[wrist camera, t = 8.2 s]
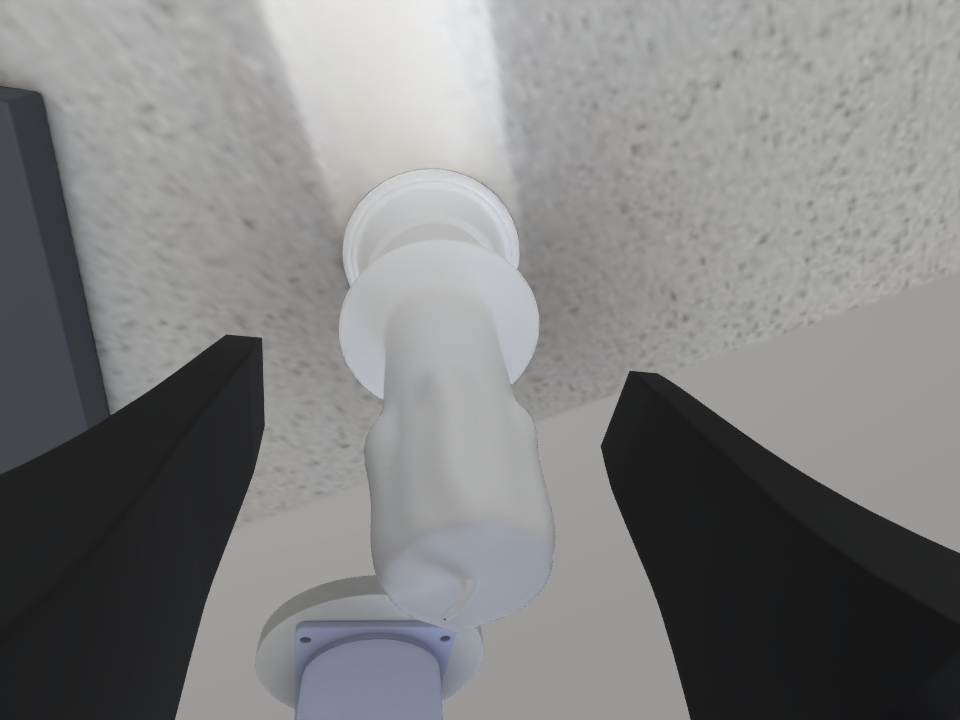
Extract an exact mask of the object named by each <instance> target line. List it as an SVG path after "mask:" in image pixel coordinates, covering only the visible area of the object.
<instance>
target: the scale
mask: <svg viewBox="0 0 960 720" xmlns="http://www.w3.org/2000/svg"><path fill="white" fill-rule="evenodd" d="M108 417H109V412H108V408H107V403H106V398H105V394H104V389H103V384H102V379H101V375H100V370H99V365H98V361H97V356H96V351H95V347H94V342H93V337H92V332H91V328H90V323H89V318H88V314H87V309H86V304H85V300H84V295H83V290H82V285H81V281H80V276H79V271H78V267H77V262H76V257H75V253H74V248H73V243H72V239H71V234H70V229H69V224H68V220H67V215H66V210H65V206H64V201H63V196H62V192H61V187H60V182H59V177H58V173H57V168H56V163H55V159H54V154H53V149H52V145H51V140H50V135H49V130H48V126H47V121H46V116H45V112H44V107H43V102H42V98H41V95H40V94H39V93H37V92H33V91H27V90H20V89H14V88H8V87H1V86H0V474H2V473H5V472H7V471H9V470H11V469H13V468H16V467H18V466H20V465H22V464H24V463H26V462H28V461H30V460H32V459H34V458H36V457H38V456H40V455H42V454H44V453H46V452H48V451H50V450H51V449H53V448H55V447H57V446H59V445H61V444H63V443H65V442H67V441H69V440H70V439H72V438H74V437H76V436H78V435H79V434H81V433H83V432H85V431H86V430H88V429H90V428H92V427H93V426H95V425H97V424H98V423H100V422H102V421H103V420H105V419H106V418H108Z"/></svg>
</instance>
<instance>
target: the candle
mask: <svg viewBox="0 0 960 720" xmlns="http://www.w3.org/2000/svg"><path fill="white" fill-rule="evenodd" d="M519 253H520V251H519V240H518V235H517V231H516V228H515V225H514V222H513V220H512V218H511V216H510V214H509V212H508V210H507V209H506V207H505V206H504V205H503V203H502V202H501V201H500V200H499V199H498V197H497V196H496V195H495V194H494V193H492V192H491V191H490V190H489V189H488V188H486V187H485V186H484V185H482V184H481V183H479V182H477V181H476V180H474V179H472V178H470V177H467V176H465V175H462V174H459V173H456V172H452V171H447V170H439V169H424V170H416V171H410V172H406V173H403V174H400V175H397V176H395V177H393V178H391V179H389V180H387V181H385V182H383V183H382V184H380V185H379V186H377V187H376V188H375V189H373V190H372V191H371V192H370V193H369V194H368V195H367V196H366V197H365V198H364V199H363V200H362V201H361V202H360V204H359V205H358V206H357V208H356V209H355V211H354V213H353V214H352V216H351V218H350V220H349V223H348V225H347V228H346V232H345V236H344V241H343V264H344V269H345V273H346V277H347V280H348V282H349V285H350V289H349V291H348V293H347V295H346V297H345V299H344V302H343V305H342V308H341V312H340V318H339V340H340V345H341V349H342V353H343V355H344V358H345V360H346V362H347V364H348V366H349V368H350V370H351V371H352V373H353V374H354V376H355V377H356V378H357V379H358V380H359V382H360V383H361V384H362V385H363V386H364V387H365V388H366V389H368V390H369V391H370V392H371V393H373V394H374V395H375V396H377V397H378V398H380V399H382V400H383V412H382V414H381V415H380V417H379V418H378V419H377V420H376V422H375V423H374V424H373V426H372V428H371V429H370V431H369V433H368V435H367V438H366V441H365V448H364V455H365V465H366V471H367V476H368V482H369V489H370V496H371V551H372V558H373V564H374V569H375V573H376V576H377V579H378V582H379V584H380V586H381V587H382V589H383V590H384V591H385V592H386V593H387V595H388V596H389V598H390V600H391V601H392V602H393V603H394V604H395V605H396V606H397V607H398V608H399V609H400V610H401V611H403V612H404V613H406V614H407V615H409V616H411V617H413V618H415V619H417V620H420V621H423V622H426V623H430V624H433V625H436V626H439V627H442V628H445V629H448V630H451V631H457V632H462V631H468V630H471V629H473V628H476V627H478V626H480V625H483V624H485V623H488V622H491V621H495V620H498V619H500V618H503V617H506V616H508V615H510V614H512V613H514V612H516V611H518V610H520V609H521V608H522V607H524V606H526V605H527V604H528V603H529V602H531V601H532V600H533V599H534V598H535V597H536V596H537V595H538V594H539V593H540V592H541V590H542V589H543V588H544V586H545V584H546V583H547V581H548V578H549V576H550V573H551V569H552V562H553V552H554V546H555V526H554V519H553V514H552V509H551V505H550V501H549V497H548V493H547V489H546V485H545V481H544V478H543V474H542V470H541V466H540V461H539V456H538V445H537V433H536V427H535V423H534V421H533V419H532V418H531V416H530V415H529V413H528V412H527V411H526V410H525V409H524V408H523V407H522V406H521V405H520V404H519V403H518V402H517V401H516V400H515V396H514V393H513V389H512V384H513V383H514V382H515V381H516V380H517V379H518V378H519V377H520V375H521V374H522V373H523V371H524V370H525V368H526V367H527V365H528V364H529V362H530V360H531V358H532V356H533V353H534V351H535V348H536V344H537V340H538V335H539V314H538V308H537V304H536V301H535V298H534V295H533V293H532V291H531V289H530V287H529V285H528V283H527V282H526V280H525V279H524V277H523V276H522V275H521V274H520V272H519V271H518V265H519Z"/></svg>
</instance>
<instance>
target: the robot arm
mask: <svg viewBox="0 0 960 720" xmlns="http://www.w3.org/2000/svg"><path fill="white" fill-rule="evenodd" d="M264 427H265V420H264V387H263V353H262V338H258V337H247V336H236V335H225V336H224V337H222V338H221V339H219V340H218V341H217V342H215V343H214V344H213V345H211V346H210V347H209V348H207V349H206V350H205V351H203V352H202V353H201V354H199V355H198V356H197V357H195V358H194V359H193V360H191V361H190V362H189V363H187V364H186V365H185V366H183V367H182V368H181V369H179V370H178V371H177V372H175V373H174V374H172V375H171V376H170V377H168V378H167V379H165V380H164V381H163V382H161V383H160V384H158V385H157V386H156V387H154V388H153V389H151V390H150V391H148V392H147V393H145V394H144V395H142V396H141V397H139V398H138V399H136V400H134V401H133V402H131V403H130V404H128V405H127V406H125V407H124V408H122V409H120V410H119V411H117V412H116V413H114V414H113V415H111V416H109V417H108V418H106V419H105V420H103V421H102V422H100V423H98V424H97V425H95V426H93V427H92V428H90V429H88V430H86V431H85V432H83V433H81V434H79V435H78V436H76V437H74V438H72V439H70V440H69V441H67V442H65V443H63V444H61V445H59V446H57V447H55V448H53V449H51V450H50V451H48V452H46V453H44V454H42V455H40V456H38V457H36V458H34V459H32V460H30V461H28V462H26V463H24V464H22V465H20V466H18V467H16V468H13V469H11V470H9V471H7V472H5V473H2V474H0V720H175V717H176V713H177V709H178V705H179V701H180V697H181V693H182V689H183V685H184V681H185V677H186V674H187V669H188V665H189V662H190V658H191V654H192V650H193V647H194V643H195V639H196V635H197V632H198V628H199V624H200V620H201V617H202V613H203V609H204V605H205V602H206V599H207V596H208V593H209V591H210V587H211V584H212V582H213V579H214V576H215V574H216V571H217V568H218V566H219V563H220V561H221V558H222V555H223V553H224V550H225V547H226V545H227V542H228V540H229V537H230V534H231V532H232V529H233V527H234V524H235V521H236V519H237V516H238V513H239V511H240V508H241V506H242V503H243V500H244V498H245V495H246V492H247V490H248V487H249V484H250V481H251V479H252V476H253V473H254V470H255V465H256V461H257V457H258V453H259V449H260V444H261V440H262V435H263V431H264ZM601 449H602V453H603V458H604V462H605V467H606V471H607V474H608V477H609V481H610V485H611V489H612V491H613V494H614V497H615V499H616V502H617V504H618V507H619V509H620V511H621V514H622V516H623V519H624V521H625V524H626V526H627V529H628V531H629V533H630V536H631V538H632V540H633V543H634V545H635V548H636V550H637V552H638V555H639V557H640V559H641V562H642V564H643V566H644V569H645V571H646V574H647V576H648V578H649V581H650V583H651V586H652V588H653V591H654V594H655V597H656V599H657V602H658V605H659V608H660V611H661V614H662V617H663V620H664V624H665V628H666V631H667V634H668V637H669V641H670V644H671V647H672V651H673V654H674V658H675V662H676V665H677V669H678V673H679V677H680V680H681V684H682V688H683V692H684V695H685V699H686V703H687V707H688V711H689V715H690V719H691V720H960V553H958V552H956V551H953V550H951V549H949V548H946V547H944V546H942V545H940V544H938V543H936V542H933V541H931V540H929V539H927V538H924V537H922V536H920V535H918V534H916V533H914V532H912V531H910V530H908V529H906V528H904V527H901V526H900V525H898V524H896V523H893V522H891V521H889V520H887V519H885V518H883V517H881V516H879V515H877V514H875V513H873V512H871V511H869V510H867V509H866V508H864V507H862V506H860V505H858V504H856V503H854V502H852V501H850V500H849V499H847V498H845V497H844V496H842V495H840V494H838V493H837V492H835V491H833V490H831V489H830V488H828V487H826V486H824V485H822V484H821V483H819V482H817V481H816V480H814V479H812V478H811V477H809V476H807V475H806V474H804V473H802V472H801V471H799V470H798V469H796V468H794V467H793V466H791V465H790V464H788V463H787V462H785V461H784V460H782V459H781V458H779V457H778V456H776V455H774V454H773V453H772V452H770V451H768V450H767V449H765V448H764V447H762V446H761V445H760V444H758V443H757V442H755V441H754V440H752V439H751V438H749V437H748V436H747V435H745V434H744V433H742V432H741V431H740V430H738V429H737V428H735V427H734V426H733V425H731V424H730V423H728V422H727V421H726V420H724V419H723V418H722V417H720V416H719V415H717V414H716V413H715V412H713V411H712V410H711V409H709V408H708V407H706V406H705V405H703V404H702V403H701V402H699V401H698V400H697V399H695V398H694V397H692V396H691V395H690V394H688V393H687V392H686V391H684V390H683V389H681V388H680V387H678V386H677V385H675V384H674V383H672V382H671V381H669V380H668V379H666V378H664V377H663V376H661V375H659V374H657V373H647V372H636V371H630V372H629V374H628V377H627V379H626V382H625V385H624V387H623V390H622V392H621V395H620V398H619V400H618V403H617V406H616V408H615V411H614V413H613V416H612V418H611V421H610V424H609V426H608V429H607V432H606V434H605V437H604V439H603V442H602V445H601ZM455 634H456V631H451V630H448V629H445V628H442V627H439V626H436V625H433V624H430V623H426V622H423V621H305V622H301V623H299V624H298V625H297V627H296V632H295V720H443V715H442V697H441V687H442V683H443V680H444V676H445V672H446V668H447V664H448V661H449V657H450V653H451V649H452V646H453V642H454V638H455Z"/></svg>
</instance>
